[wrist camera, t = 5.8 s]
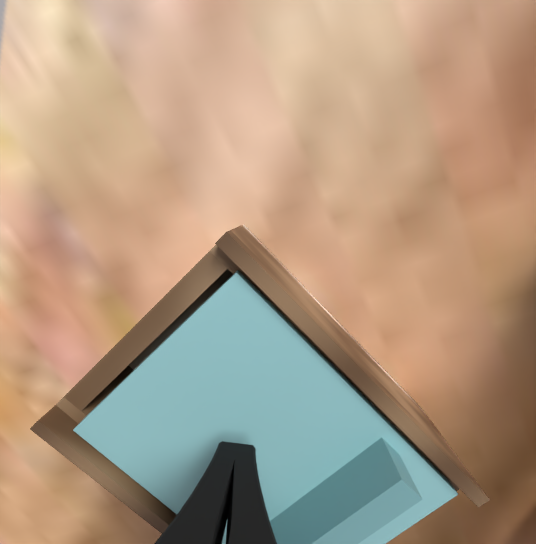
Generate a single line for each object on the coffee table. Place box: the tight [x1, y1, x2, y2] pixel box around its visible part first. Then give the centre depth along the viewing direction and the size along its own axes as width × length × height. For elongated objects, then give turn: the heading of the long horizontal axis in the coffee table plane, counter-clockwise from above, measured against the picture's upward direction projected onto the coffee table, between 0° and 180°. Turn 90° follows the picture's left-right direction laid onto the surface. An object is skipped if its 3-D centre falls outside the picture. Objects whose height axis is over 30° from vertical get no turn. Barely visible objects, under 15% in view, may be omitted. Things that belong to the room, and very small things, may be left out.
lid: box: [73, 270, 458, 544], centre depth 12 cm, size 14×10×3 cm
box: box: [30, 225, 490, 534], centre depth 15 cm, size 16×12×6 cm
